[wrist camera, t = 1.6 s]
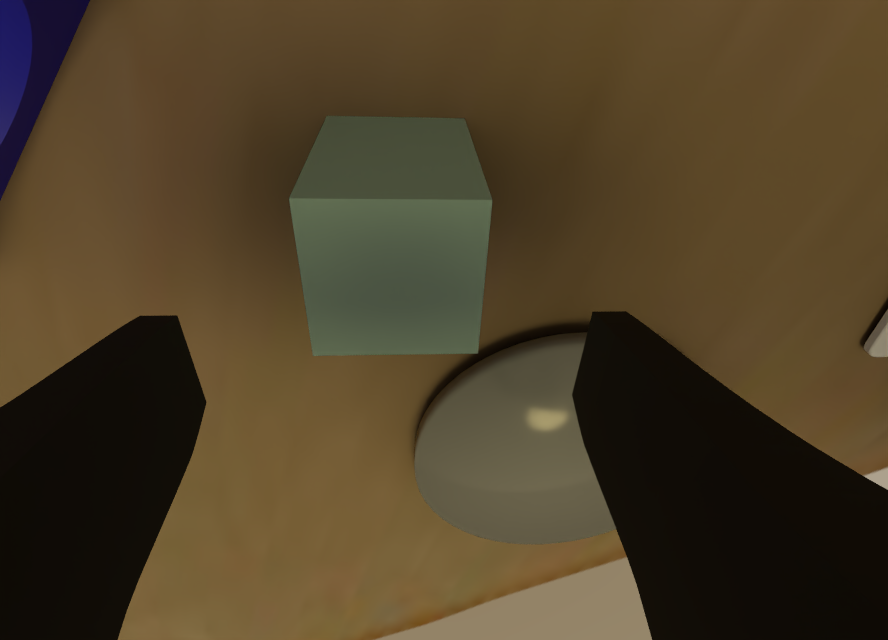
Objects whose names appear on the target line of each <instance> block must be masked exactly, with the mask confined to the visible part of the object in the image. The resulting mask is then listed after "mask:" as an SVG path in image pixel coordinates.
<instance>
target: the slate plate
mask: <svg viewBox="0 0 888 640" xmlns="http://www.w3.org/2000/svg"><path fill="white" fill-rule="evenodd" d="M586 336H587V332H582V333H566V334H559V335H553V336H547V337H541V338H538V339H534V340H530V341H526V342H523V343H519V344H517V345H514V346H511V347H509V348H506V349H504V350H501V351H498V352H496V353H494V354H493V355H491V356H489V357H487V358H485V359H483V360H481V361H479V362H477V363H476V364H474V365H473V366H471V367H470V368H468V369H466V370H465V371H463V372H462V373H461V374H460V375H458V376H457V377H456V378H455V379H453V380H452V381H451V382H450V383H449V384H447V386H446V387H445V388H444V389H443V390H442V391H441V392H440V393H439V394H438V395H437V396H436V397H435V399H434V400H433V401H432V403H431V404H430V406H429V407H428V409H427V410H426V412H425V414H424V416H423V418H422V420H421V422H420V424H419V427H418V430H417V434H416V437H415V447H414V466H415V476H416V481H417V485H418V488H419V491H420V493H421V494H422V496H423V498H424V500H425V501H426V503H427V504H428V505H429V506H430V508H431V509H432V510H433V511H434V512H435V513H436V514H437V515H439V516H440V517H441V518H442V519H443V520H445V521H446V522H448V523H449V524H451V525H453V526H454V527H456V528H458V529H460V530H462V531H464V532H467V533H469V534H472V535H475V536H478V537H481V538H485V539H489V540H493V541H499V542H505V543H514V544H551V543H561V542H568V541H575V540H579V539H584V538H589V537H593V536H596V535H599V534H603V533H606V532H609V531H612V530H615V529H616V527H615V524H614V522H613V519H612V517H611V514H610V511H609V509H608V506H607V504H606V501H605V499H604V496H603V494H602V491H601V488H600V486H599V483H598V481H597V478H596V475H595V473H594V470H593V467H592V465H591V462H590V460H589V457H588V454H587V451H586V449H585V446H584V443H583V439H582V435H581V431H580V427H579V424H578V419H577V415H576V410H575V406H574V402H573V397H572V392H573V388H574V384H575V380H576V376H577V372H578V368H579V364H580V360H581V356H582V352H583V348H584V344H585V340H586Z"/></svg>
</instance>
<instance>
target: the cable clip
mask: <svg viewBox="0 0 888 640" xmlns="http://www.w3.org/2000/svg"><path fill="white" fill-rule="evenodd" d="M89 1H90V0H0V200H1V198H2V195H3V193H4V191H5V189H6V186H7V184H8V182H9V180H10V177H11V175H12V173H13V171H14V169H15V166H16V164H17V162H18V160H19V157H20V155H21V153H22V151H23V148H24V146H25V144H26V142H27V140H28V137H29V135H30V133H31V131H32V128H33V126H34V124H35V122H36V119H37V117H38V115H39V113H40V110H41V108H42V106H43V104H44V102H45V99H46V97H47V95H48V93H49V90H50V88H51V86H52V84H53V81H54V79H55V77H56V75H57V73H58V70H59V68H60V66H61V64H62V61H63V59H64V57H65V55H66V52H67V50H68V48H69V46H70V43H71V41H72V39H73V37H74V35H75V32H76V30H77V28H78V26H79V23H80V21H81V19H82V17H83V14H84V12H85V10H86V8H87V6H88V3H89Z"/></svg>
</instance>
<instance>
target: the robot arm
mask: <svg viewBox="0 0 888 640" xmlns="http://www.w3.org/2000/svg"><path fill="white" fill-rule="evenodd" d="M864 350H865V351H866V352H867V353H868V354H870V355H871V356H872V357H888V309H887V311H886V312H885V314H884V315H883V317H882V318H881V320H880V321H879V323H878V324H877V326H876V327H875V329H874V330H873V332H872V333H871V335H870V337H869V338H868V340H867V341H866V343H865V345H864ZM572 397H573V402H574V406H575V410H576V415H577V419H578V424H579V427H580V431H581V435H582V439H583V443H584V446H585V449H586V451H587V454H588V457H589V460H590V462H591V465H592V467H593V470H594V473H595V475H596V478H597V481H598V483H599V486H600V488H601V491H602V494H603V496H604V499H605V501H606V504H607V506H608V509H609V511H610V514H611V517H612V519H613V522H614V524H615V527H616V529H617V532H618V535H619V537H620V540H621V542H622V545H623V547H624V550H625V553H626V555H627V558H628V560H629V564H630V566H631V569H632V572H633V575H634V578H635V581H636V584H637V587H638V591H639V594H640V598H641V601H642V604H643V608H644V612H645V616H646V619H647V622H648V626H649V629H650V633H651V637H652V640H888V490H887V489H885V488H883V487H881V486H879V485H878V484H876V483H874V482H872V481H871V480H869V479H867V478H865V477H864V476H862V475H860V474H859V473H857V472H855V471H854V470H852V469H850V468H849V467H847V466H845V465H844V464H842V463H840V462H839V461H837V460H835V459H834V458H832V457H830V456H829V455H827V454H825V453H824V452H822V451H820V450H819V449H817V448H815V447H814V446H812V445H811V444H809V443H807V442H806V441H804V440H803V439H801V438H800V437H798V436H796V435H795V434H793V433H792V432H790V431H789V430H787V429H786V428H784V427H783V426H781V425H780V424H779V423H777V422H776V421H774V420H773V419H771V418H770V417H768V416H767V415H765V414H764V413H762V412H761V411H759V410H758V409H757V408H755V407H754V406H752V405H751V404H749V403H748V402H746V401H745V400H744V399H742V398H741V397H740V396H738V395H737V394H735V393H734V392H733V391H731V390H730V389H728V388H727V387H726V386H724V385H723V384H722V383H720V382H719V381H718V380H716V379H715V378H714V377H712V376H711V375H710V374H708V373H707V372H706V371H704V370H703V369H702V368H700V367H699V366H698V365H696V364H695V363H694V362H692V361H691V360H690V359H689V358H687V357H686V356H685V355H683V354H682V353H681V352H680V351H678V350H677V349H676V348H674V347H673V346H672V345H671V344H669V343H668V342H667V341H665V340H664V339H663V338H661V337H660V336H659V335H658V334H656V333H655V332H654V331H652V330H651V329H650V328H648V327H647V326H646V325H644V324H643V323H642V322H640V321H639V320H638V319H636V318H635V317H633V316H632V315H630V314H629V313H627V312H626V311H623V312H592V316H591V320H590V324H589V328H588V332H587V336H586V340H585V344H584V348H583V352H582V356H581V360H580V364H579V368H578V372H577V376H576V380H575V384H574V388H573V392H572ZM205 406H206V400H205V397H204V394H203V391H202V388H201V385H200V382H199V379H198V376H197V373H196V370H195V367H194V364H193V361H192V358H191V355H190V352H189V349H188V346H187V343H186V340H185V337H184V334H183V331H182V328H181V325H180V322H179V319H178V316H139V317H137V318H135V319H134V320H132V321H130V322H129V323H127V324H125V325H124V326H122V327H120V328H119V329H117V330H116V331H114V332H113V333H111V334H110V335H108V336H107V337H105V338H104V339H102V340H101V341H99V342H98V343H96V344H95V345H93V346H92V347H90V348H89V349H87V350H86V351H84V352H83V353H81V354H80V355H79V356H77V357H76V358H74V359H73V360H71V361H70V362H68V363H67V364H65V365H64V366H62V367H61V368H59V369H58V370H56V371H55V372H53V373H52V374H50V375H49V376H48V377H46V378H45V379H43V380H42V381H40V382H39V383H37V384H36V385H34V386H33V387H31V388H30V389H28V390H27V391H25V392H24V393H22V394H21V395H19V396H18V397H16V398H15V399H13V400H12V401H10V402H8V403H7V404H5V405H4V406H2V407H0V640H117V639H118V636H119V633H120V630H121V627H122V624H123V621H124V618H125V614H126V611H127V609H128V606H129V603H130V601H131V598H132V596H133V593H134V590H135V588H136V585H137V583H138V580H139V578H140V575H141V573H142V571H143V568H144V566H145V564H146V562H147V559H148V557H149V555H150V552H151V550H152V548H153V545H154V543H155V541H156V538H157V536H158V534H159V532H160V529H161V527H162V525H163V522H164V520H165V518H166V515H167V513H168V511H169V508H170V506H171V504H172V502H173V499H174V497H175V495H176V492H177V490H178V487H179V485H180V483H181V480H182V478H183V476H184V473H185V471H186V469H187V466H188V464H189V461H190V459H191V456H192V454H193V450H194V447H195V443H196V440H197V436H198V433H199V429H200V425H201V421H202V417H203V413H204V410H205Z"/></svg>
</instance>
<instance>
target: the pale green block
mask: <svg viewBox="0 0 888 640" xmlns="http://www.w3.org/2000/svg"><path fill="white" fill-rule="evenodd" d="M289 202H290V209H291V215H292V222H293V228H294V235H295V241H296V248H297V254H298V261H299V268H300V274H301V281H302V287H303V294H304V300H305V307H306V313H307V320H308V326H309V333H310V339H311V346H312V352H313V356H330V355H404V354H478V347H479V337H480V326H481V315H482V305H483V294H484V284H485V273H486V263H487V252H488V241H489V231H490V220H491V210H492V197H491V194H490V191H489V188H488V186H487V183H486V180H485V177H484V174H483V171H482V168H481V165H480V162H479V159H478V156H477V153H476V150H475V147H474V145H473V142H472V139H471V136H470V133H469V130H468V127H467V124H466V121H465V118H419V117H364V116H327V117H326V119H325V121H324V123H323V125H322V127H321V130H320V132H319V134H318V136H317V138H316V141H315V143H314V145H313V147H312V149H311V151H310V154H309V156H308V158H307V160H306V162H305V164H304V167H303V169H302V171H301V173H300V175H299V178H298V180H297V182H296V184H295V186H294V188H293V191H292V193H291V195H290V197H289Z"/></svg>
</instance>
